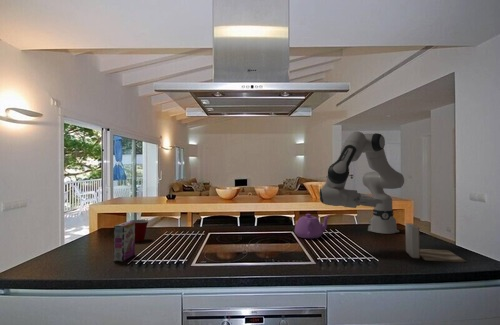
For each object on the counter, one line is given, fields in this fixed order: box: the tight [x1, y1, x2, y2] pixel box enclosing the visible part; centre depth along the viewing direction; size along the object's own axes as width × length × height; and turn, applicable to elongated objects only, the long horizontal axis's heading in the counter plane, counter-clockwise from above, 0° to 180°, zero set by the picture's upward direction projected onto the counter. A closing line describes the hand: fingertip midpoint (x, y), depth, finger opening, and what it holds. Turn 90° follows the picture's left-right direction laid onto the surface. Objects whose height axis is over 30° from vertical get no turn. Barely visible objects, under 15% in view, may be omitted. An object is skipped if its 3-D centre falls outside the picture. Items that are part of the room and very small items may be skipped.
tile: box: [404, 222, 421, 259], centre depth 137 cm, size 10×3×14 cm, turn 167°
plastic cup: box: [129, 219, 150, 243], centre depth 169 cm, size 11×11×12 cm
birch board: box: [420, 248, 466, 263], centre depth 134 cm, size 16×16×1 cm
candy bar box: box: [113, 221, 136, 263], centre depth 136 cm, size 11×5×16 cm, turn 175°
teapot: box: [294, 213, 331, 239], centre depth 174 cm, size 22×22×14 cm
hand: (382, 201), depth 140 cm, fingers closed
